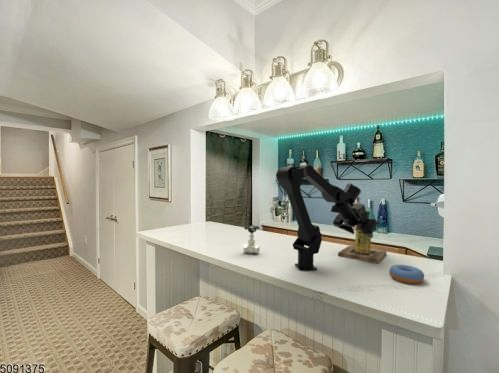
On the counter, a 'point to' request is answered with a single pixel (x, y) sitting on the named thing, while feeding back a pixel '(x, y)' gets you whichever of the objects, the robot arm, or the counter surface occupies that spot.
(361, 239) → the sauce bottle
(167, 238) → the counter surface
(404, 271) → the doughnut
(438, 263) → the counter surface
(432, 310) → the counter surface
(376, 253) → the walnut board
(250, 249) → the valve
